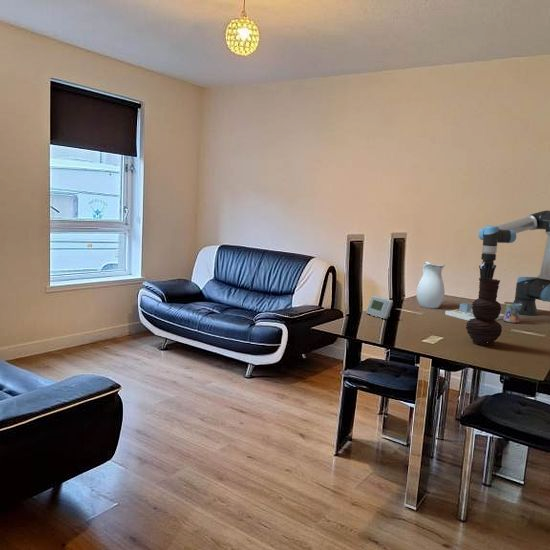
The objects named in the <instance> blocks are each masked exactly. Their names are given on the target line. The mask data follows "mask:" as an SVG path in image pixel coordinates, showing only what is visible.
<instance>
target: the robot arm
mask: <svg viewBox="0 0 550 550" xmlns="http://www.w3.org/2000/svg"><path fill="white" fill-rule="evenodd" d="M535 230H545V232H544V233H545V234H546V235H547V237H546V242H545V248H544V253H543V257H542V260H541V261H542V262H541V267H540V273H539V275H537V276H536V277H535V276H519V277H518V278H517V280H516V286H515V295H514V300H513V303H519V304H522V307H521V308H520V310H519V314H518V315H525V316H537V314H538V308H537V305H536V303H537V302H536V300H539V301H542V302H547V303H550V210H549V209H548V210H541V211H538V212H534V213H531V214H528V215H526V216H525V217H524V218H523V217H522V218H519V219H517V220H513V221H509V222H505V223H503V224H499V225H486V226H484V227H483V228H481V229H479V231H478V239H480V240H482V247H481V248H482V249H481V252H482V253H481V256H480V257H481V258H480V259H481V260H482V263H481V265H479V266H478V267H479V268H478V269H479V278H488V279H489V278H490V279H494V274H495V270H496V268H497V265H496V264H494V263H495V261H496V259H497V254H496V253H497V252H498V251H497V249H498V243H499V244H511V243H514V242H515V241H516V239H517V234H518V233H521V232H525V231H535Z"/></svg>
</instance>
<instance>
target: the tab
mask: <svg viewBox="0 0 550 550" xmlns="http://www.w3.org/2000/svg"><path fill="white" fill-rule="evenodd" d="M471 308H472V304H470V303H468V302H467V303H466V302H462V303H460V304H459V308H458V309H459V311H463V312H469V311H471Z"/></svg>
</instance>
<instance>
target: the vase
mask: <svg viewBox="0 0 550 550" xmlns="http://www.w3.org/2000/svg"><path fill="white" fill-rule="evenodd" d="M478 280H479V285H478V286H479V287H478V298H476V299H474V301H472V303H471V308H472V310H473V311H472V312H473V315H474V317H476V318H473V319H470V320H469V321H468V320H467V322H466V323H465V324H466V327H465V329H466V331H467V334H468V336H469V337H470V339H471V342H472V341H473V342H472V343H473V344H475V343H476V344H475V345H478V344H480V345H479V346H484V345H489V346H491V345H492V344H493V343H494V342H495V341H497V339H498V338H499V337H501V335H502V331H503V329H502V328H503V327H502V325H501V324H500V322H498V321H497V320H495V319H497V318H498V317H499V315H500V314H501V311H502V305H501V304H500V302H499V301H497V297H498V290H499V289H500V288H499V287H500V286H499V285H500V282H501V280H499V279H497V278H495V279H494V278H493V279H490V278H489V279H488V278H480V277H479V278H478ZM487 342H488V343H487Z"/></svg>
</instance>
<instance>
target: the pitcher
mask: <svg viewBox="0 0 550 550" xmlns="http://www.w3.org/2000/svg"><path fill="white" fill-rule="evenodd" d="M422 265H423V266H422V276H421V278H420V280H419V282H418V285H417V286H416V287H417V288H416V292H415V293H416V300H417V303H418V305H419V306H420V307H422V308H425V309H439V307H440V306H441V305H442V304H443V301H444V298H445V293H446V292H445V285H444V281H443V277H442V271H443V269H444V267H445V264H442V265H436V264H433V263H431V262H430V261H425V262H424V263H423V264H422Z"/></svg>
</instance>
